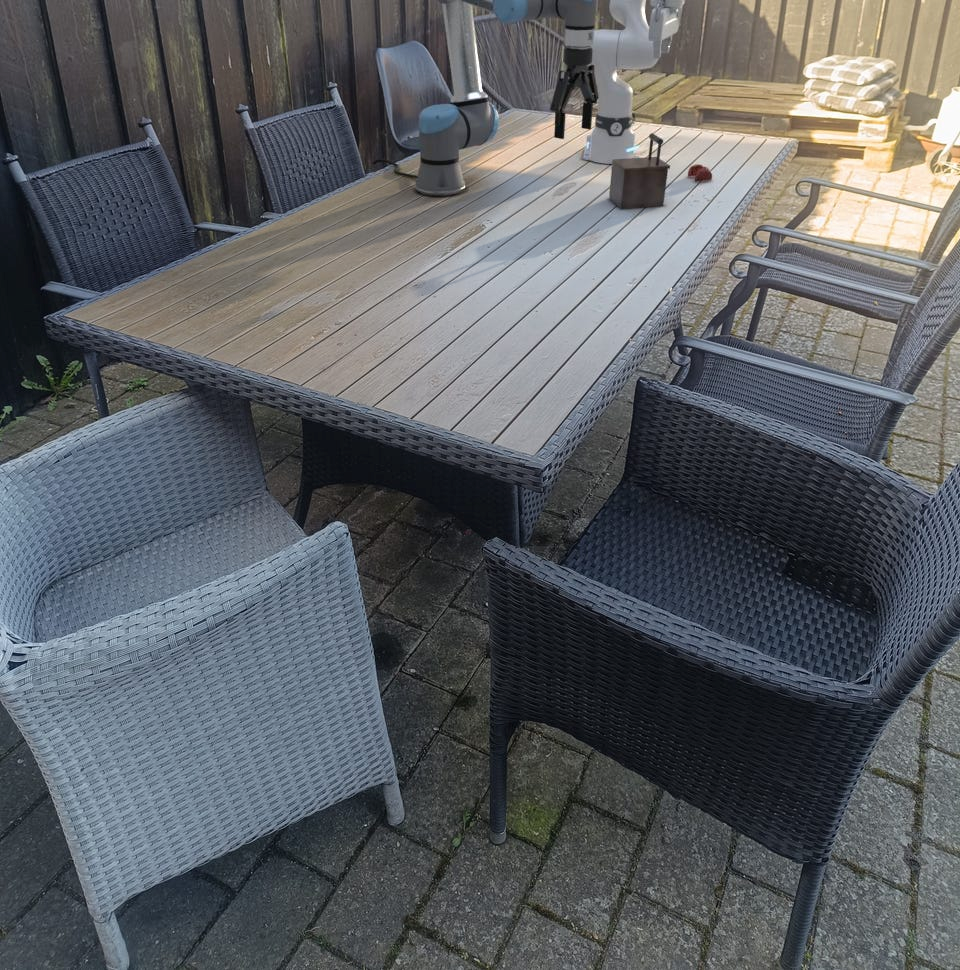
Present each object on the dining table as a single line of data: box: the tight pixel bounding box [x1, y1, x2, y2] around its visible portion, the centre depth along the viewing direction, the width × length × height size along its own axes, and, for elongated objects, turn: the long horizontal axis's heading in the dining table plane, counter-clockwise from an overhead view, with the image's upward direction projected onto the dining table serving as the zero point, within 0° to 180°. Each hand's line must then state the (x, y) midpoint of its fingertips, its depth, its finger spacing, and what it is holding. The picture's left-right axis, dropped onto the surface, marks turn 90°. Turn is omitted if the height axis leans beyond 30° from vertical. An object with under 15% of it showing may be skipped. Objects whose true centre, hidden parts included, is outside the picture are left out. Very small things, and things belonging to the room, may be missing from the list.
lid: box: [612, 132, 671, 171], centre depth 240 cm, size 14×10×8 cm
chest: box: [608, 162, 669, 210], centre depth 245 cm, size 13×10×10 cm
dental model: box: [687, 163, 713, 182], centre depth 266 cm, size 6×4×8 cm
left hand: (572, 133), depth 231 cm, fingers open, 13 cm apart
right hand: (661, 55), depth 234 cm, fingers open, 8 cm apart
